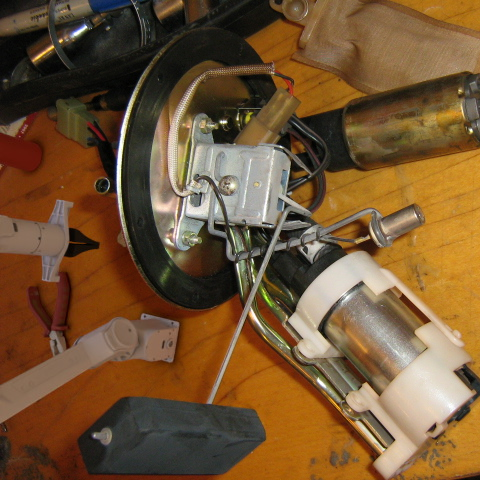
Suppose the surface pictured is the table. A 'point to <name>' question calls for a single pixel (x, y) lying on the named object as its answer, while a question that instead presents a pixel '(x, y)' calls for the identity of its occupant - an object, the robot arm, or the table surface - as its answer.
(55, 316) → the pliers
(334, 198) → the table surface
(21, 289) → the table surface
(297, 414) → the table surface
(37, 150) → the red cylinder
